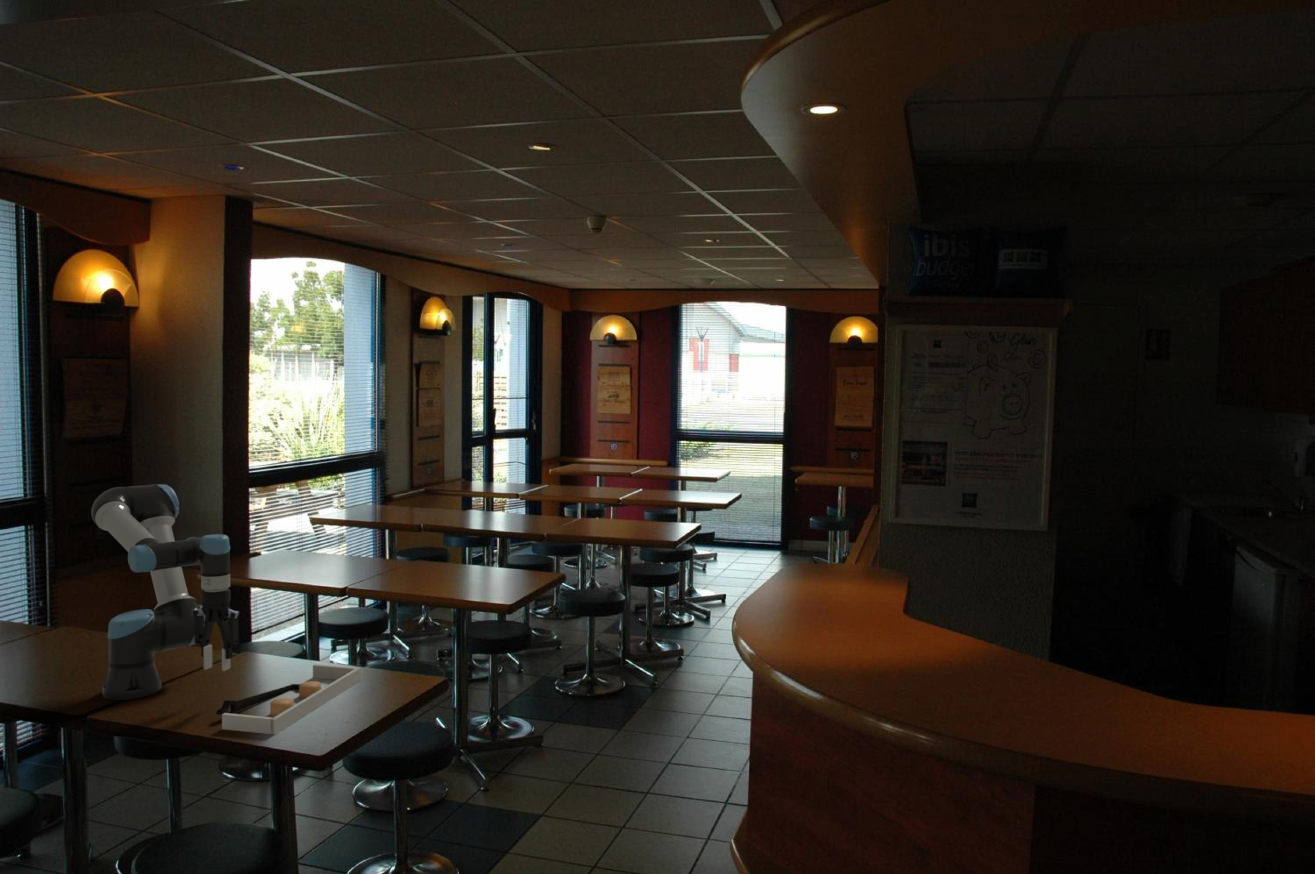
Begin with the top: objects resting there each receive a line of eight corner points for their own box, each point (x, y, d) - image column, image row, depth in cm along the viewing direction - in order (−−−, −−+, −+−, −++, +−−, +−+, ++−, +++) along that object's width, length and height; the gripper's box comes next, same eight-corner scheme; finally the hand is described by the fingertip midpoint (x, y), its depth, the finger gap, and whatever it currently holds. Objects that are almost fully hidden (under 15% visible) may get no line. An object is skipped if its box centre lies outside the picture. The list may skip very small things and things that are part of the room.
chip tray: (222, 729, 240) (221, 714, 240) (315, 676, 283) (315, 664, 283) (274, 734, 237) (274, 719, 237) (360, 680, 280) (360, 667, 280)
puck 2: (295, 696, 265) (295, 685, 265) (313, 691, 270) (313, 679, 270) (307, 701, 262) (307, 689, 262) (325, 695, 267) (325, 684, 267)
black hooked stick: (307, 696, 271) (228, 724, 243) (293, 695, 273) (213, 722, 245) (307, 679, 271) (228, 704, 243) (293, 677, 273) (213, 703, 245)
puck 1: (265, 716, 250) (265, 704, 250) (281, 709, 256) (280, 697, 255) (283, 719, 248) (283, 706, 248) (298, 711, 254) (298, 699, 253)
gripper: (178, 590, 257) (180, 670, 258) (235, 593, 253) (237, 675, 254) (196, 584, 264) (198, 662, 265) (252, 587, 260) (253, 667, 262)
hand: (217, 668), depth 260 cm, fingers open, 5 cm apart
